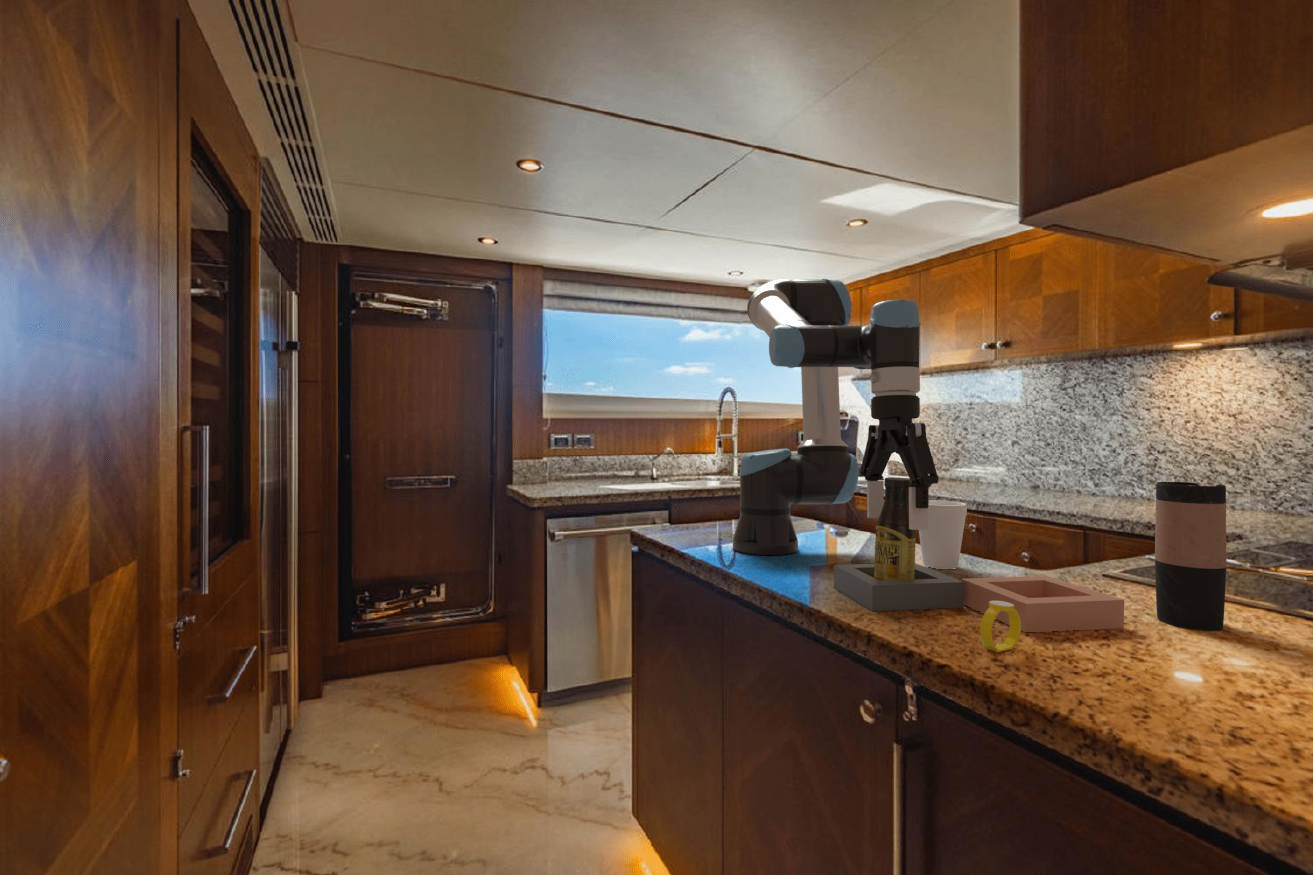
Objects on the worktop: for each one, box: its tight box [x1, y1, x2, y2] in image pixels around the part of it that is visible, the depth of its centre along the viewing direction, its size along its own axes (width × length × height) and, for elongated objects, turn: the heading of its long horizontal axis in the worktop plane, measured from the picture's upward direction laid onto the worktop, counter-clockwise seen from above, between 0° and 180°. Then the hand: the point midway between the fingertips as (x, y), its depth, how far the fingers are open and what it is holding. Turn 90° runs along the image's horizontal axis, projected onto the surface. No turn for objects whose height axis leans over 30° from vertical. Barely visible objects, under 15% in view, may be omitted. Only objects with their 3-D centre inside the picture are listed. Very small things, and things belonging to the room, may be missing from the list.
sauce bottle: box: [874, 476, 917, 581], centre depth 99 cm, size 7×6×20 cm
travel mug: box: [1154, 481, 1227, 632], centre depth 85 cm, size 8×8×20 cm
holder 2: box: [960, 575, 1125, 633], centre depth 89 cm, size 14×15×4 cm
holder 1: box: [833, 562, 964, 612], centre depth 99 cm, size 14×15×4 cm
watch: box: [979, 601, 1022, 653], centre depth 75 cm, size 6×3×6 cm, turn 115°
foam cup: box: [918, 499, 968, 570], centre depth 121 cm, size 10×9×13 cm
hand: (895, 523), depth 99 cm, fingers open, 13 cm apart
